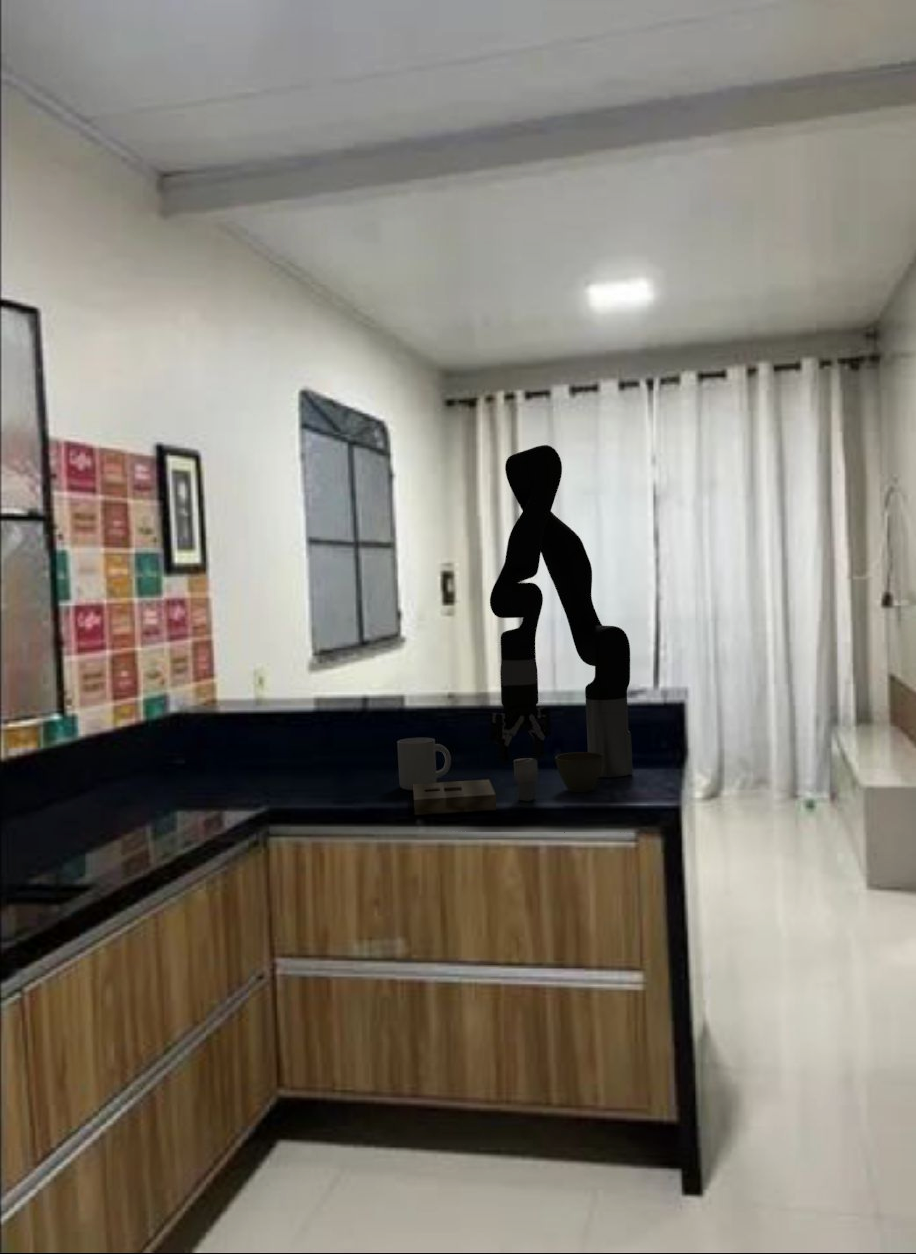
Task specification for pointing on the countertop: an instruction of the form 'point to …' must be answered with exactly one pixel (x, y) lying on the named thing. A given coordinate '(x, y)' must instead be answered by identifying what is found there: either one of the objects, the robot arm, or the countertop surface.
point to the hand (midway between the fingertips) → (521, 761)
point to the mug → (420, 761)
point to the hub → (453, 797)
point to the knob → (526, 777)
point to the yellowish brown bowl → (579, 770)
